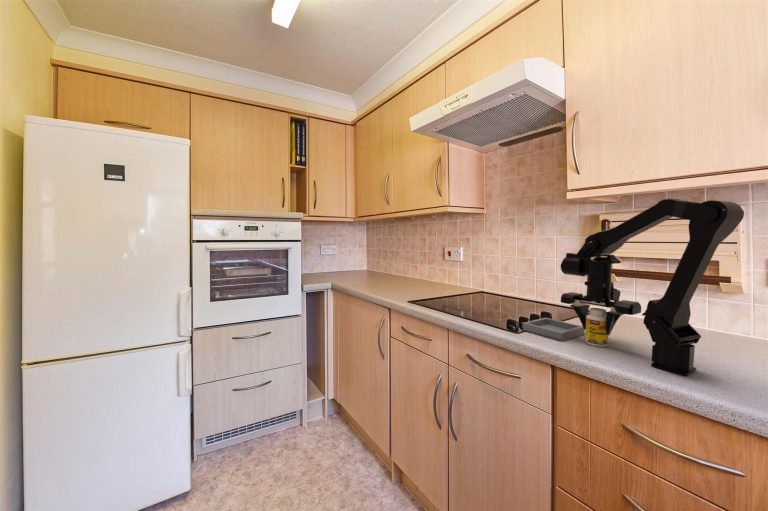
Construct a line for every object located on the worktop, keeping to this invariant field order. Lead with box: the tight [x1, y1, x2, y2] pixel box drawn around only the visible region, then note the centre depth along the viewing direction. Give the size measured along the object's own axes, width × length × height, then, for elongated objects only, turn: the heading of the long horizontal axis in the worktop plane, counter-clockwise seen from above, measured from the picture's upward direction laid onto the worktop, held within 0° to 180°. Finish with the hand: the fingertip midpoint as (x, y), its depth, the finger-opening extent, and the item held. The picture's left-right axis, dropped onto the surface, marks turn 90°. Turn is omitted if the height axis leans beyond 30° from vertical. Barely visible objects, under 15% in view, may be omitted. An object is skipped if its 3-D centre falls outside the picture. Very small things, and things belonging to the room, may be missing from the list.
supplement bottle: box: [584, 307, 609, 348], centre depth 91 cm, size 6×6×10 cm
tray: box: [521, 317, 585, 342], centre depth 102 cm, size 13×13×2 cm
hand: (596, 332), depth 91 cm, fingers closed on supplement bottle, 5 cm apart
